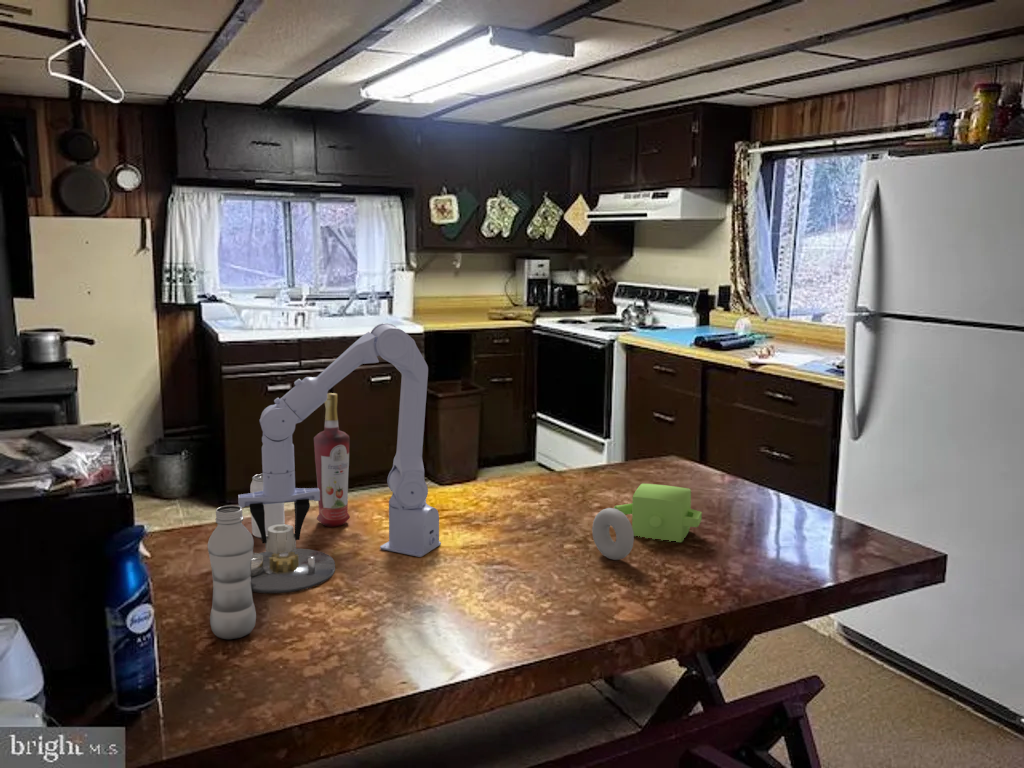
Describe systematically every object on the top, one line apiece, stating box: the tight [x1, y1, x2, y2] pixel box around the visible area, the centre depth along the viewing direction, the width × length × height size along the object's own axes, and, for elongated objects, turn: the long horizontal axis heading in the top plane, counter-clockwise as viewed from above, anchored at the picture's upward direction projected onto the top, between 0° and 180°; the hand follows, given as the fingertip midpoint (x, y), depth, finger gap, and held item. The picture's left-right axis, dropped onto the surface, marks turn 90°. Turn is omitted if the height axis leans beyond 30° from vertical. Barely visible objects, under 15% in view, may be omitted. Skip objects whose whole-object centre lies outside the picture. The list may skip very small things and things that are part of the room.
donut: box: [591, 507, 635, 561], centre depth 157 cm, size 10×4×10 cm, turn 37°
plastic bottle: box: [207, 504, 257, 640], centre depth 123 cm, size 6×7×20 cm
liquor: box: [313, 392, 351, 528], centre depth 171 cm, size 7×7×28 cm
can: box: [249, 473, 286, 539], centre depth 166 cm, size 6×6×12 cm
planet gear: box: [264, 523, 297, 554], centre depth 153 cm, size 6×5×4 cm
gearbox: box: [613, 483, 703, 543], centre depth 170 cm, size 18×10×10 cm, turn 67°
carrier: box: [250, 548, 336, 594], centre depth 147 cm, size 19×20×4 cm
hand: (281, 539), depth 153 cm, fingers closed on planet gear, 5 cm apart
